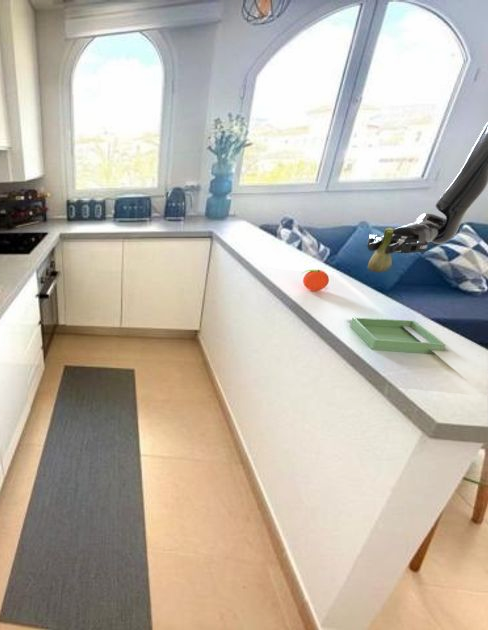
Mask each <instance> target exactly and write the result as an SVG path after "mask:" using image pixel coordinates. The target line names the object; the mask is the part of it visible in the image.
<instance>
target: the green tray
mask: <svg viewBox="0 0 488 630" xmlns="http://www.w3.org/2000/svg"><path fill="white" fill-rule="evenodd" d="M349 327H350V328H351V329H352V330H353V331H354V332H355V334H357V336H358V337H359V338H361V340H362V341H363V342H364V343H365V344H366V345H367V346H368V348H370V349H371V350H373V351H387V352H399V353H400V352H402V353H415V354H427V353H428V354H427V355H436V353H435V351H433V350H439V351H444V350H445V347H446V346H447V344H446V343H444V342H443V341H442V340H440V339H439V338H438V337H436V336H435V335H434V334H433V333H431V332H430V331H429V330H428V329H425V328H424V327H423V326H421V325H420V324H419V323H418V322H417V321H415V320H412V319H411V320H410V319H409V320H407V319H390V318H373V317H371V318H370V317H355V316H353V317H352V319H351V320H350V323H349ZM405 327H411V328H412V329H413V330H414V331H416V333H419V334H420V335H421V337H423V338H425V339H426V340H427V341H428V342H427V341H425V342H423V341H421V340H420V339H418V338H417V337H416V336H414V335H413V334H412V333H411V332H410V331H408V329H406V328H405Z"/></svg>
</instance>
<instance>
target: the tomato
mask: <svg viewBox="0 0 488 630" xmlns="http://www.w3.org/2000/svg"><path fill="white" fill-rule="evenodd" d="M306 272H307V273H306ZM304 273H305V275H304V276H303V279H302V283H303V285H304V287H305V289H307V290H309V291H313V292H318V291H321V290H324V289H325V288H326V287H327V286H328V284H329V281H330V278H329V275H328V274H327V273H326V271H324V270H322V269H308V270H304V271H303V272H302V274H304Z"/></svg>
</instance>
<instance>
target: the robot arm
mask: <svg viewBox="0 0 488 630" xmlns="http://www.w3.org/2000/svg"><path fill="white" fill-rule="evenodd" d="M487 186H488V122H486V124H485V126H484V127H483V130H482V131H481V133H480V135H479V137H478V138H477V140H476V142H475V144H474V146H473V147H472V148H471V150H470V153H469V154H468V156H467V158H466V160H465V162H464V164H463V166H462V167H461V169H460V170H459V172H458V174H457V175H456V177H455V178H454V179H453V181H452V182H451V184H449V186H448V187H447V189H446V190H445V191H444V192H443V193H442V195H441V196H440V198H438V200H437V201H436V203H435V209H437V211H439V212H440V213H442V215H444V216H445V218H444V217H441V216H439V215H437V214H433V213H429V212H428V213H423V214H420V215H419V216H417V217H416V219H414V221H413V222H412V223H407V224H405V225H402V226H400V227H396V228H393V229H394V232H393V236H392V239H391V242H390V245H389V246H388V247H387V250H386V254H393V253H397V254H412V253H423V252H426V251H427V248H428V245H429V244H430V242H431V243H434V244H437V245H438V244H439V245H440V244H445V243H447V242H449V241H451V240H452V239H453V238H454V237H455V235H456V234H457V232H458V230H459V228H460V226H461V223H462V221H463V218H464V217H465V215H466V213H467V212H468V210H469V209H470V207H471V206H472V205H473V204H474V202H476V200H477V199H478V198H479V197H480V196H481V195H482V193H483V192H484V191H485V189H486V188H487ZM383 236H384V235H381V236H380V237H378V236H377V235H375V234H374V233H371V234H370V233H369V235H368V239H367V242H366V247H367V250H368V251H369V252H375V251H376V250H377V249H378V248H379V246H380V245H381V243H382V240H383Z"/></svg>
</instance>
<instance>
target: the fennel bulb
mask: <svg viewBox="0 0 488 630" xmlns="http://www.w3.org/2000/svg"><path fill="white" fill-rule="evenodd" d="M394 229H395V228H392V227H387V228H386V229H384V232H383V233H384V234H383V235H382V236H383V240H382V243H381V245H380V246H379V248H378V249H377V250H374V253H373V254H372V255H371V258H370V259H369V261H368V263H367V266H366V267H367V269H368V271H370V272H374V273H384V272H388V271H389V270H390V269H391V268H392V266H393V259H392V253H390V254H386V250H387V247H388V246H389V245H390V242H391V239H392V236H393V232H394Z"/></svg>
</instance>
